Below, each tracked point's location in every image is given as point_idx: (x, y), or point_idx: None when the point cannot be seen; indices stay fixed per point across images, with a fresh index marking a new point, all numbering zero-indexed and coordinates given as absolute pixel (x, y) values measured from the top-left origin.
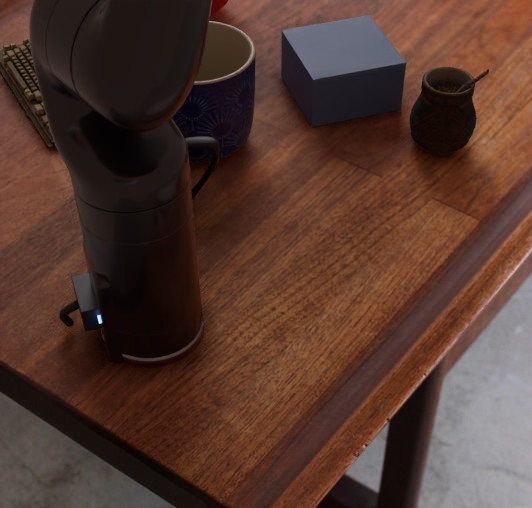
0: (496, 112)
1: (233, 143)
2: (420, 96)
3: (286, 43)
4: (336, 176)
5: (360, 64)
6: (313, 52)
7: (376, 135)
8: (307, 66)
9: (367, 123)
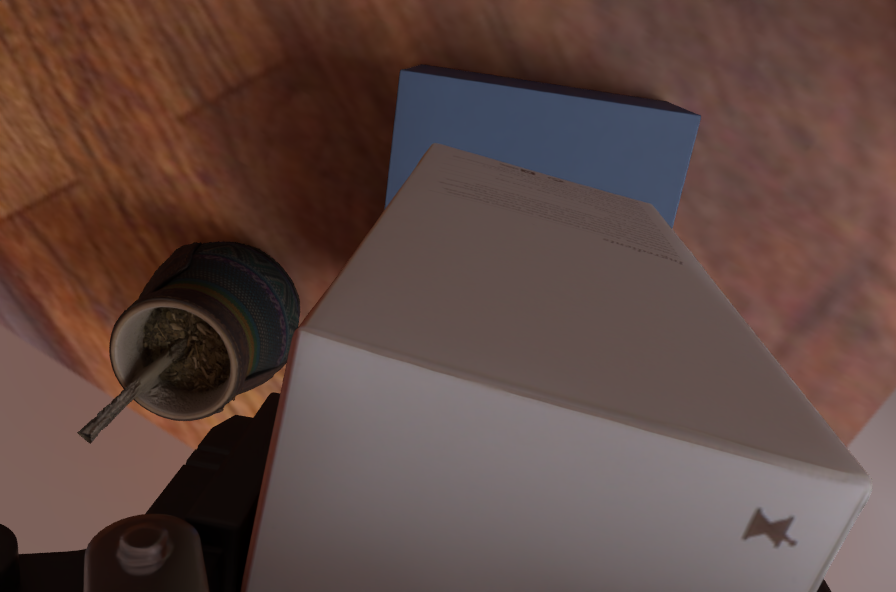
0: None
1: None
2: (217, 290)
3: (644, 105)
4: (216, 22)
5: None
6: (532, 143)
7: (326, 193)
8: (472, 89)
9: (378, 199)
